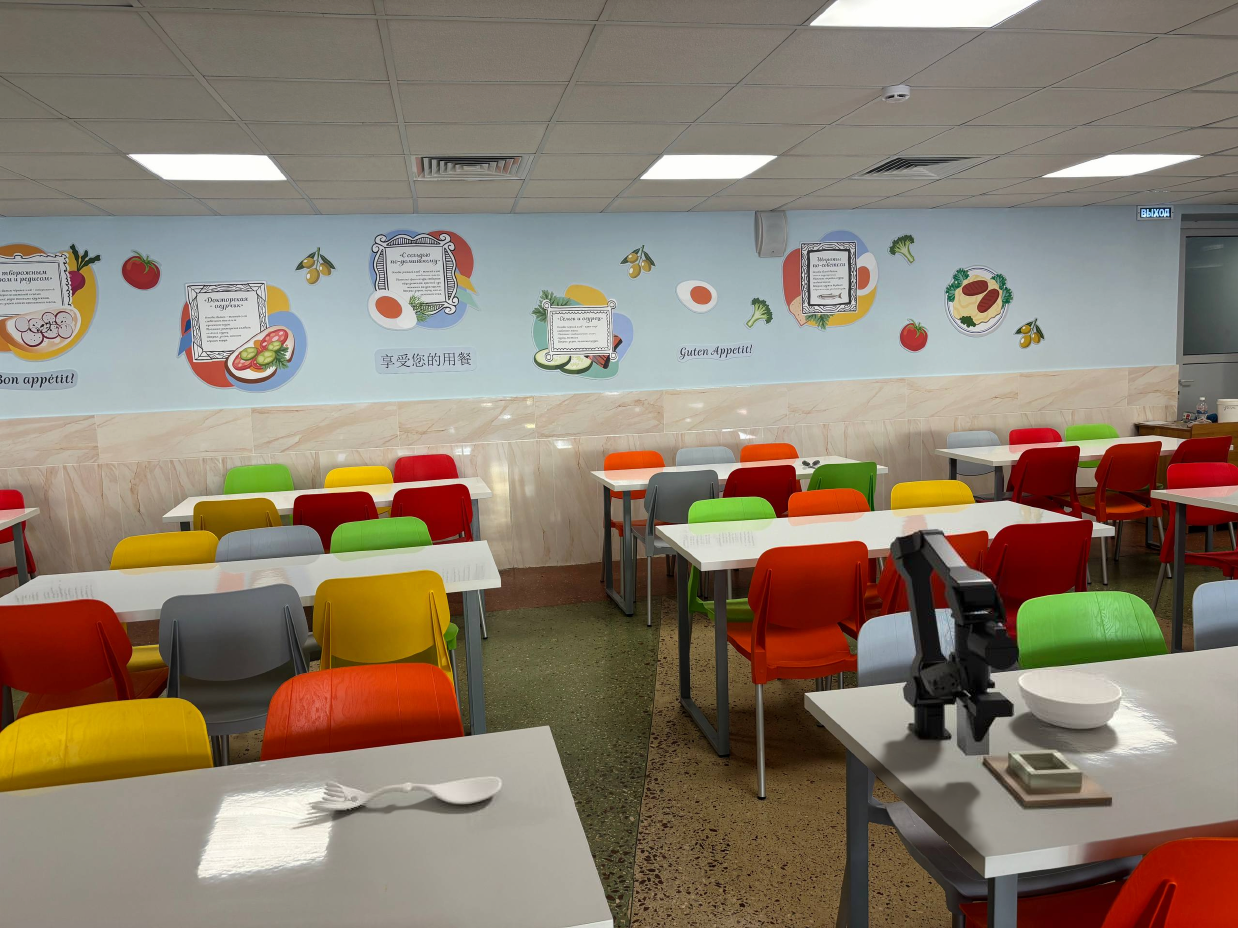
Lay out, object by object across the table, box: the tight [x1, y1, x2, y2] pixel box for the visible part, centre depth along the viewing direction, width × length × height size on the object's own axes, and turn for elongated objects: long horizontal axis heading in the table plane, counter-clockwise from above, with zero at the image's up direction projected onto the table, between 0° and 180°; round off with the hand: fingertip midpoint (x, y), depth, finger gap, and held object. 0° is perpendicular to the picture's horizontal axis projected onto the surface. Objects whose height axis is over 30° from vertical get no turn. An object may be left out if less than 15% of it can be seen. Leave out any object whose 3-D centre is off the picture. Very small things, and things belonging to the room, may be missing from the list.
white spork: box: [310, 776, 503, 812], centre depth 145 cm, size 9×32×4 cm, turn 94°
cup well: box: [982, 749, 1113, 808], centre depth 141 cm, size 16×14×4 cm
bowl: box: [1017, 669, 1123, 730], centre depth 165 cm, size 18×18×7 cm
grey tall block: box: [956, 696, 990, 757], centre depth 144 cm, size 4×4×9 cm
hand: (972, 736), depth 144 cm, fingers closed on grey tall block, 4 cm apart
